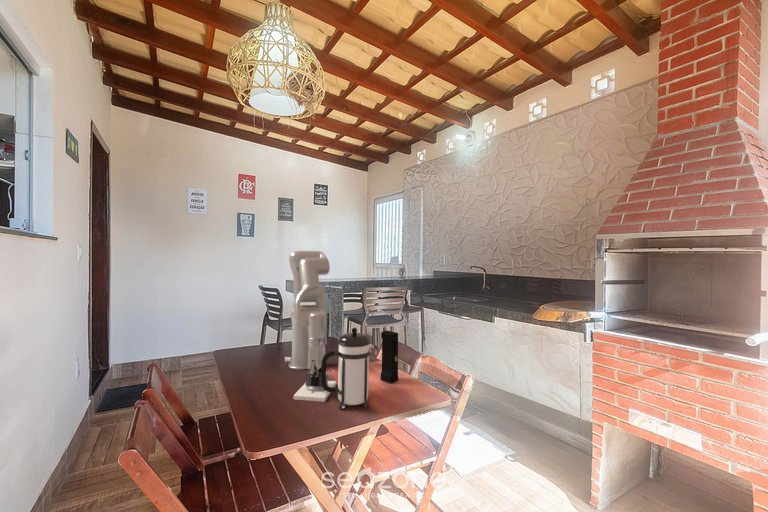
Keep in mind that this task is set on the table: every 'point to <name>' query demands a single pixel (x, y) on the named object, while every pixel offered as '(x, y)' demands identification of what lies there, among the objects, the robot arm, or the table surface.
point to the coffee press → (350, 369)
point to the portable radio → (389, 356)
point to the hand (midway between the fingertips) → (316, 382)
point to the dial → (315, 388)
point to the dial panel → (313, 393)
